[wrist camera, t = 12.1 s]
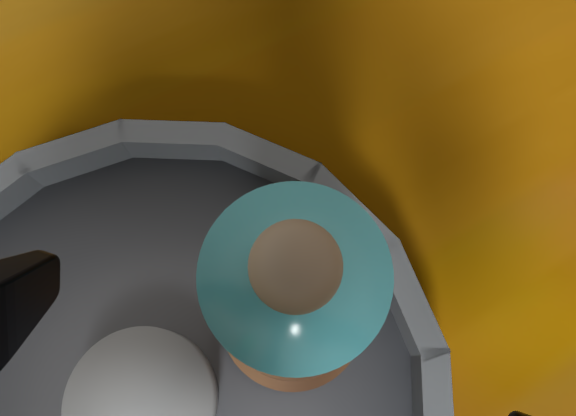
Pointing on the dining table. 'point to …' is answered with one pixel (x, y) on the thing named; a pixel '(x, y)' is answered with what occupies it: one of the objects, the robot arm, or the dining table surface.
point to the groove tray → (177, 283)
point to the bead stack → (294, 283)
